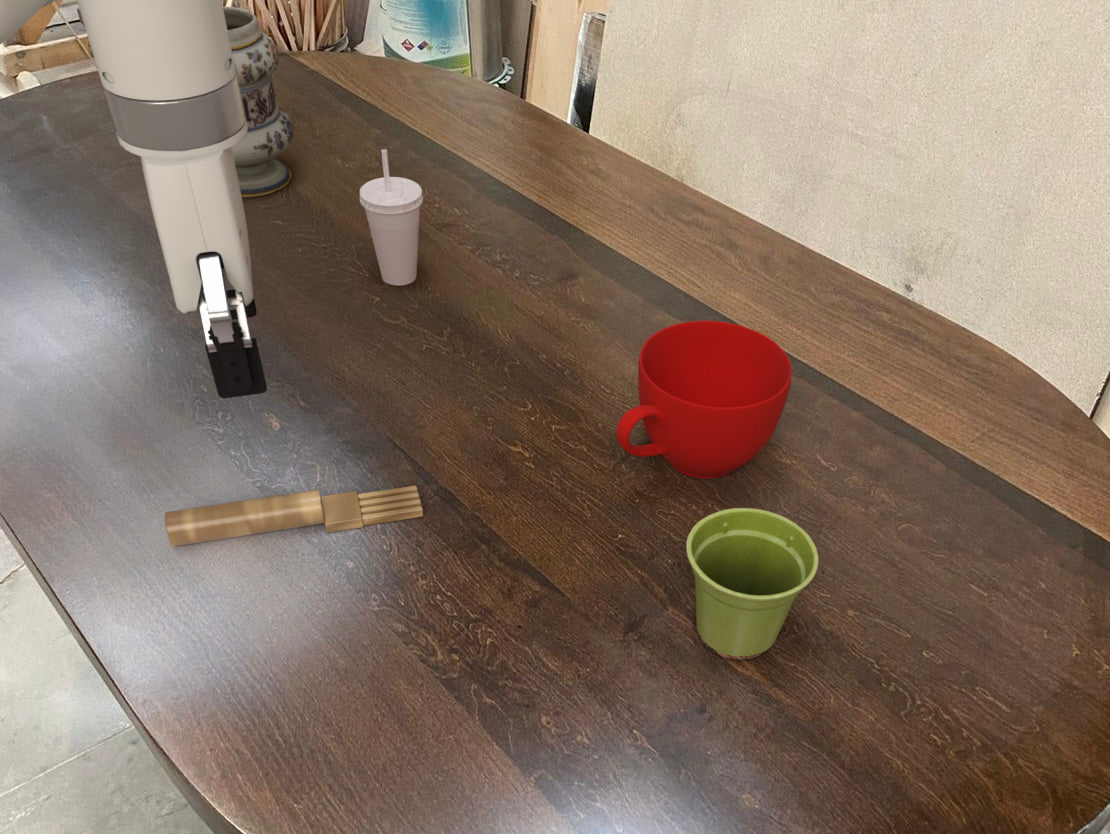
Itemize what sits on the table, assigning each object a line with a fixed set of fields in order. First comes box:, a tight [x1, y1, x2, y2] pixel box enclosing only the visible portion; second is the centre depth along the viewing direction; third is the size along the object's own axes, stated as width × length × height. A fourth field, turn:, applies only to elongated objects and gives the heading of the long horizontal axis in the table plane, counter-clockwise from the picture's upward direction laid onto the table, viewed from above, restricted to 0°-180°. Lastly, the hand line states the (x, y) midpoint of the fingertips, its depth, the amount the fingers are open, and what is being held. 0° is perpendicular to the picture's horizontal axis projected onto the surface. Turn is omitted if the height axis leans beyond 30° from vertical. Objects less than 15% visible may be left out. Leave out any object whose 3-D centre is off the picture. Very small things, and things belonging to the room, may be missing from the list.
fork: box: [164, 485, 424, 547], centre depth 87 cm, size 20×4×3 cm, turn 106°
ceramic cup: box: [616, 320, 793, 480], centre depth 92 cm, size 13×17×10 cm
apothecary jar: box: [223, 6, 294, 198], centre depth 123 cm, size 12×12×18 cm
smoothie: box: [359, 148, 424, 287], centre depth 110 cm, size 6×6×14 cm
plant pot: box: [685, 507, 819, 657], centre depth 79 cm, size 9×9×9 cm
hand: (239, 353), depth 76 cm, fingers open, 9 cm apart
